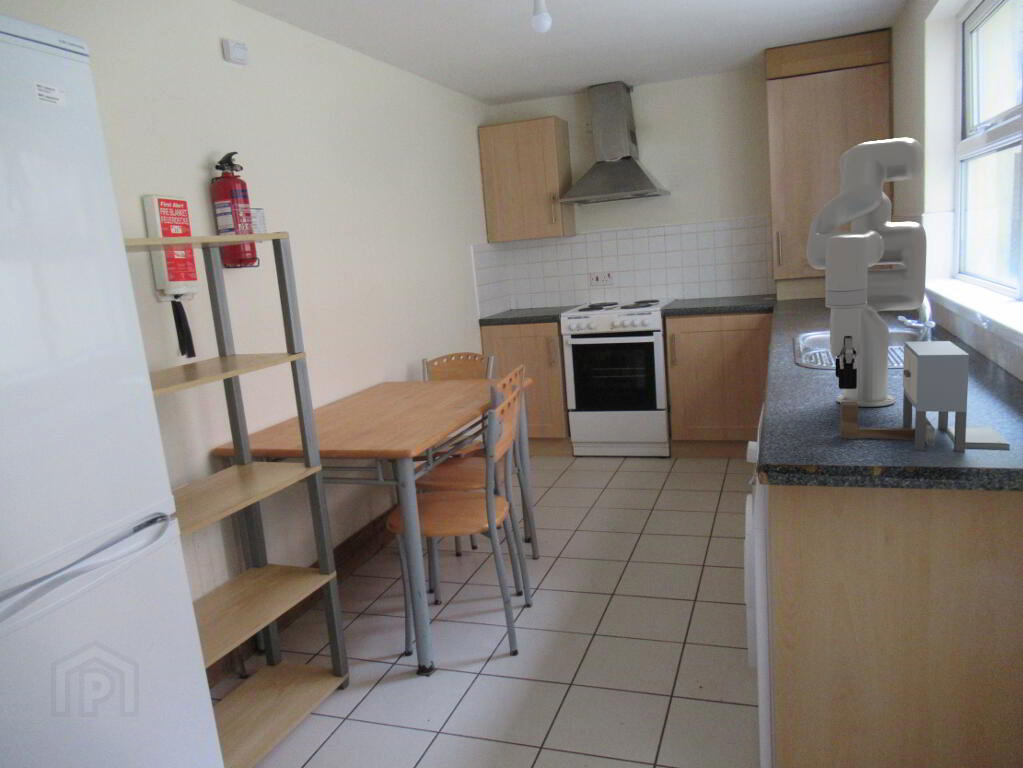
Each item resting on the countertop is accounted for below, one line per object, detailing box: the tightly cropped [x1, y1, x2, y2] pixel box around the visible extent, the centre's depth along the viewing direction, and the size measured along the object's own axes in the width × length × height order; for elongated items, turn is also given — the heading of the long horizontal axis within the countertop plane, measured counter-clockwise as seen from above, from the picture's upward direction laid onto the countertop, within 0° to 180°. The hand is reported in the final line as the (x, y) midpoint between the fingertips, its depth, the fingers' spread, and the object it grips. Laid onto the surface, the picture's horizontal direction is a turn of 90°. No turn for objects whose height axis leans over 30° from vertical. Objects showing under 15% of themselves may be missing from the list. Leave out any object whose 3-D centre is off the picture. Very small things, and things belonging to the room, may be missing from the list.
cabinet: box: [902, 340, 970, 453], centre depth 145 cm, size 18×9×18 cm, turn 160°
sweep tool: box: [839, 402, 936, 447], centre depth 149 cm, size 10×16×7 cm, turn 70°
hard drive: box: [946, 426, 1011, 450], centre depth 144 cm, size 2×8×12 cm
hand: (845, 382), depth 151 cm, fingers open, 9 cm apart
